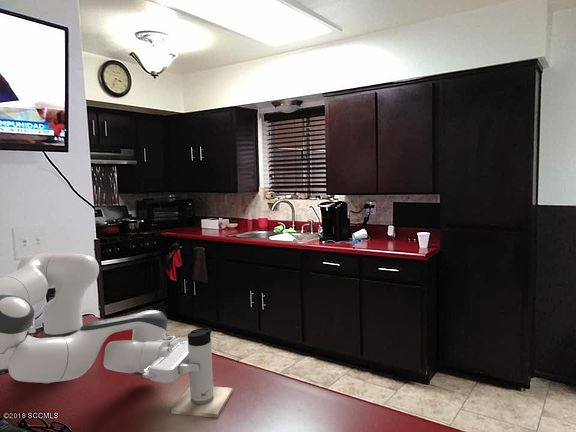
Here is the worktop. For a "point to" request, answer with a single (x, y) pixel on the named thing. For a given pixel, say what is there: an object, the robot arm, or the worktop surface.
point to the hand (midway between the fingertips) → (204, 360)
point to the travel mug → (201, 365)
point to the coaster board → (207, 409)
